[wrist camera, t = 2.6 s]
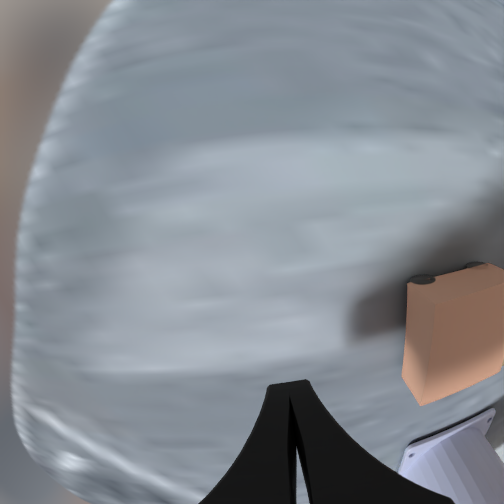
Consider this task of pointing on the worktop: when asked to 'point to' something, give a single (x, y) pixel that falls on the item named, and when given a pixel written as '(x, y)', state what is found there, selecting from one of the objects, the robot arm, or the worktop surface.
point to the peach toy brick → (453, 330)
